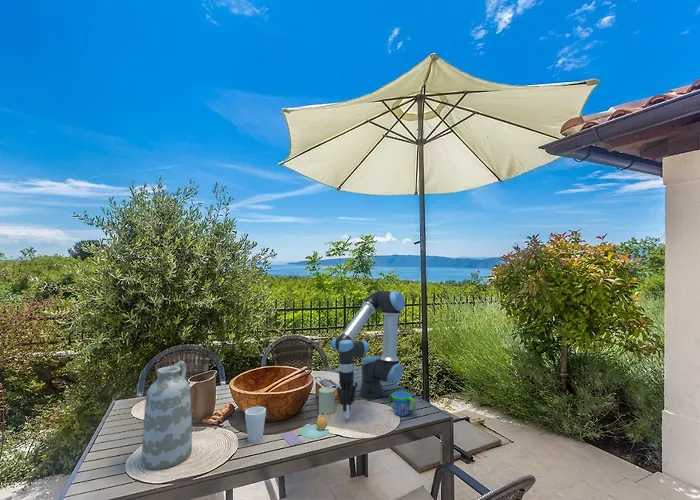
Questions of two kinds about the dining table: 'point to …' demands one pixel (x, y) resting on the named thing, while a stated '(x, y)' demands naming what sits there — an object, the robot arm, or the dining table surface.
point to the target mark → (313, 431)
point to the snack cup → (401, 402)
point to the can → (326, 400)
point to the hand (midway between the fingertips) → (346, 417)
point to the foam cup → (255, 423)
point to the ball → (321, 423)
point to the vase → (167, 420)
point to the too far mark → (291, 438)
